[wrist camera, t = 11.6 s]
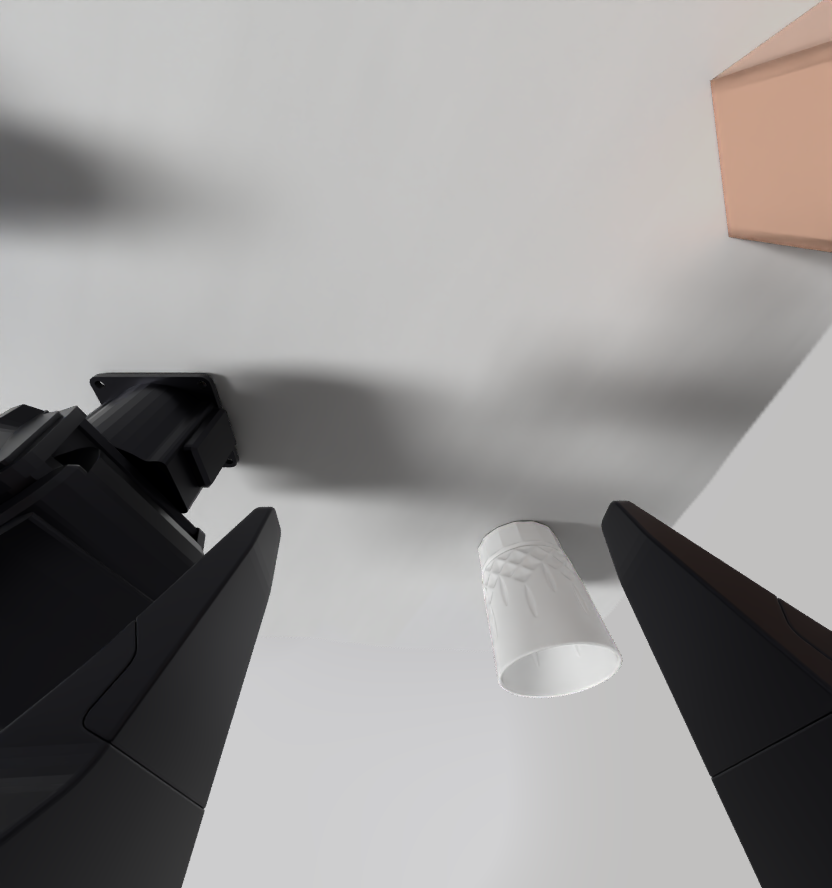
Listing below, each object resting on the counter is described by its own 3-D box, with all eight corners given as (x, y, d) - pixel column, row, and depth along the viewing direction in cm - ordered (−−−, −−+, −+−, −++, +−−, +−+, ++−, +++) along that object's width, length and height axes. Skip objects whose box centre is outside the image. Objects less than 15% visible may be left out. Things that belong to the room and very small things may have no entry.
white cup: (551, 502, 28) (615, 630, 20) (570, 557, 33) (628, 681, 24) (457, 533, 30) (481, 664, 22) (487, 583, 34) (516, 706, 26)
